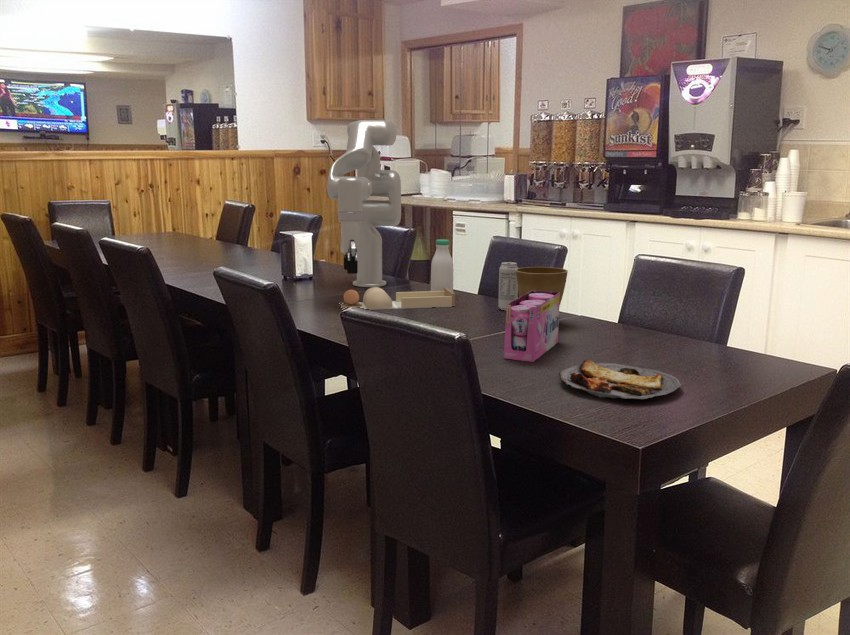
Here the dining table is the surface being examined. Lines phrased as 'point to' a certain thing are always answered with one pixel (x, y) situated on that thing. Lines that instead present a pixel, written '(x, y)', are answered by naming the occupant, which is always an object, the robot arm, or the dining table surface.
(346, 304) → the tee
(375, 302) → the lane
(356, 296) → the ball
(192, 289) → the dining table surface
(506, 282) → the energy drink can
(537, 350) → the gum box
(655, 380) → the food plate
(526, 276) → the plant pot
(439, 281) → the milk bottle
